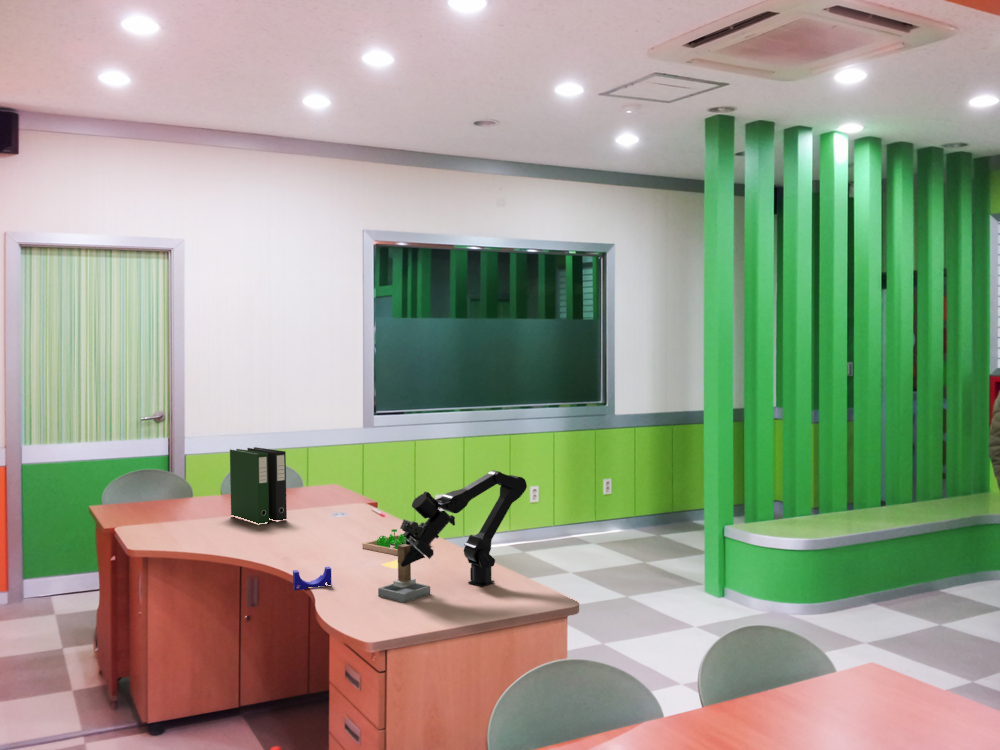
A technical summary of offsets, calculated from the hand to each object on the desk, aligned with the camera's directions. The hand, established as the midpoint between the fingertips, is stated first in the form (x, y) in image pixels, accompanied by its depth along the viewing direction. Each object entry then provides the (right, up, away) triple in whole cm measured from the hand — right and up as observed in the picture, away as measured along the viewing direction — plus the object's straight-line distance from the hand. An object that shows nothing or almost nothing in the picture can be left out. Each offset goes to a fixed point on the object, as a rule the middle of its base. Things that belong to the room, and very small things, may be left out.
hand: (400, 564), depth 269 cm
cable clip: (-30, -10, +12) cm, 34 cm away
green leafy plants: (-10, -8, +67) cm, 69 cm away
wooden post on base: (+1, -7, +1) cm, 7 cm away
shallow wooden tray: (-9, -8, +66) cm, 68 cm away
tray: (+1, -10, +1) cm, 10 cm away
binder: (-81, -7, +126) cm, 150 cm away
